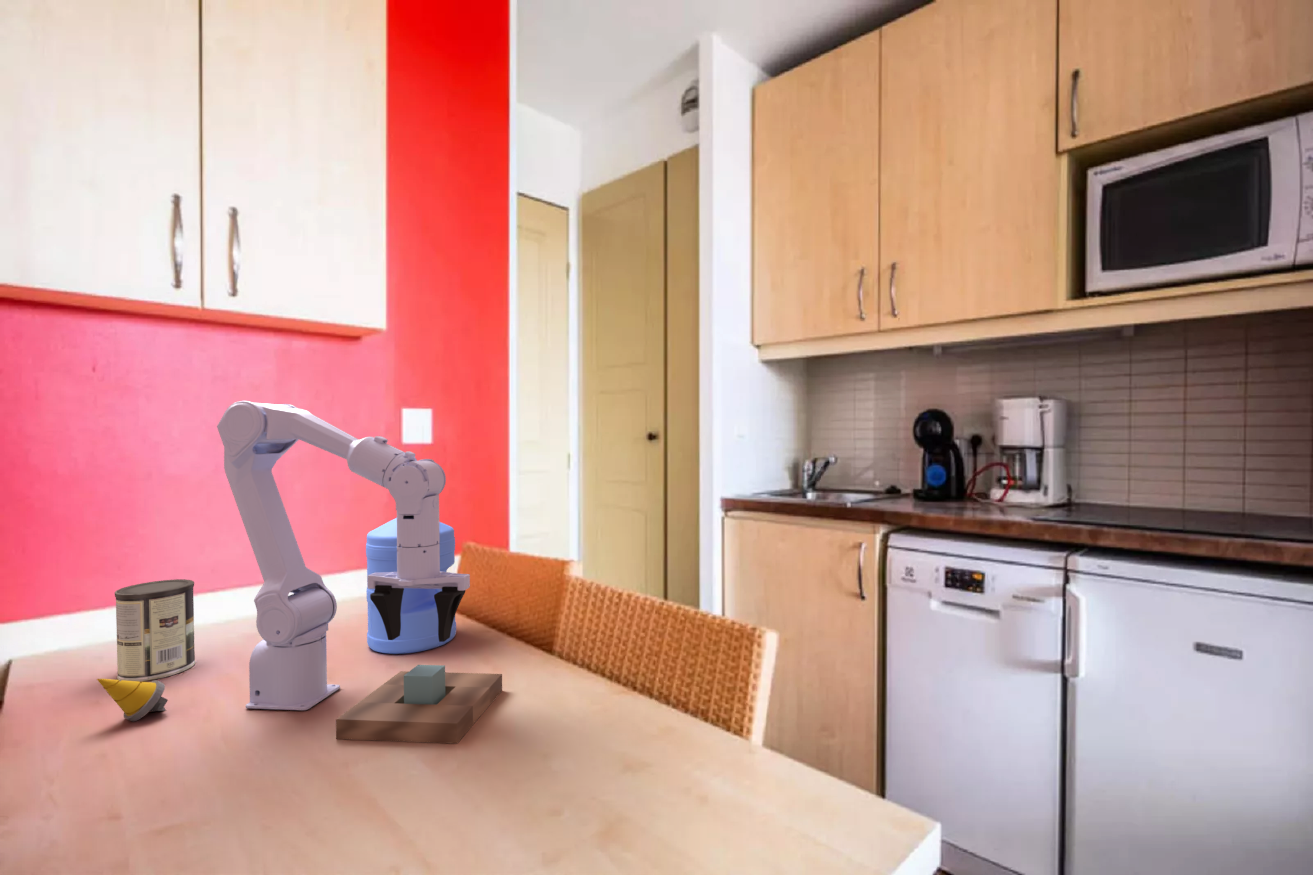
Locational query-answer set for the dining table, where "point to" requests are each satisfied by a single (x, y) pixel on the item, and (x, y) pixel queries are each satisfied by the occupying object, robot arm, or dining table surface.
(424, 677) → the pale blue box
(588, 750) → the dining table surface
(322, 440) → the robot arm
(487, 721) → the dining table surface
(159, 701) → the drill bit
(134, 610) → the coffee can
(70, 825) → the dining table surface
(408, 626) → the water jug
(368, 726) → the block with rectangular hole
